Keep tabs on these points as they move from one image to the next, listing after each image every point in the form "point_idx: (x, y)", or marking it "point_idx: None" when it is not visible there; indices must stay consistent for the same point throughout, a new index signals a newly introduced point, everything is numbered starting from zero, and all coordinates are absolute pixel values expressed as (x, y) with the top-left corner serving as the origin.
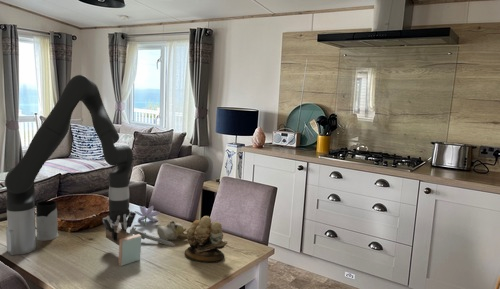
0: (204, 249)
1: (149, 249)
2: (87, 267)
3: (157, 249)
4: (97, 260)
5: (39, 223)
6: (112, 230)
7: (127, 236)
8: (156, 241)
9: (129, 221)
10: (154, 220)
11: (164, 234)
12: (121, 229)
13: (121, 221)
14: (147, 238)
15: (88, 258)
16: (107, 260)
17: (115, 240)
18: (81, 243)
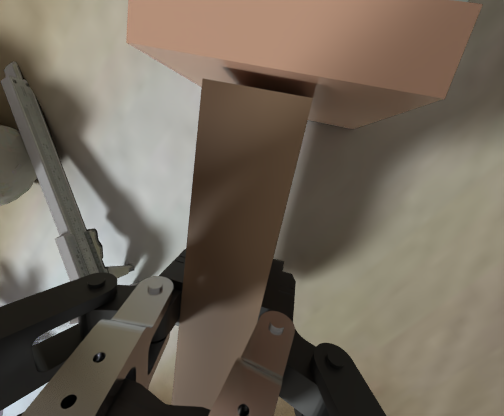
0: None
1: (129, 138)
2: (477, 237)
3: (99, 103)
4: (377, 255)
5: None
6: (301, 353)
7: (275, 110)
8: (61, 164)
9: (50, 341)
10: None
11: None
12: (188, 313)
13: (143, 405)
14: (79, 213)
15: (383, 303)
16: (349, 214)
17: (282, 264)
18: (286, 408)
